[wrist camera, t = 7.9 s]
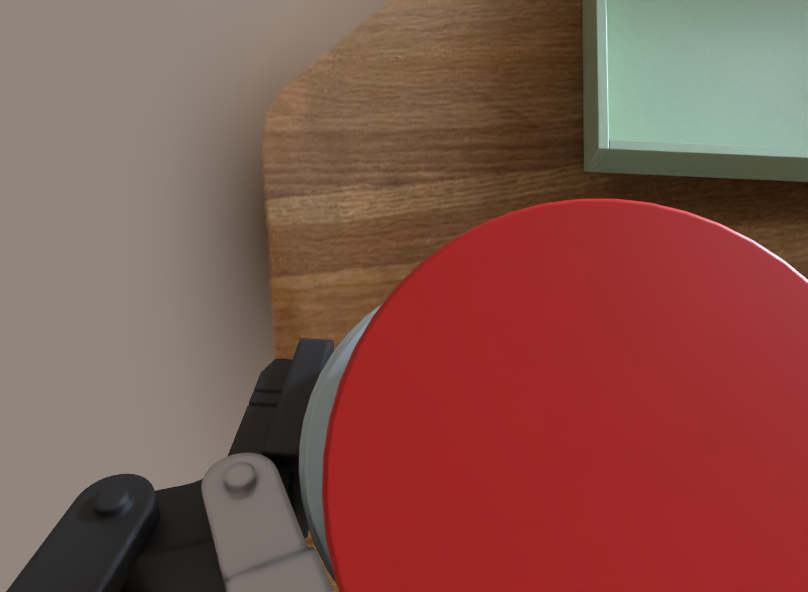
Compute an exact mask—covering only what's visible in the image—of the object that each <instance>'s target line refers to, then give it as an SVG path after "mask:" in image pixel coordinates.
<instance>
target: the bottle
mask: <svg viewBox="0 0 808 592" xmlns="http://www.w3.org/2000/svg"><path fill="white" fill-rule="evenodd" d="M382 304H383V303H382ZM382 304H381V305H382ZM381 305H380V306H381ZM380 306H378V307H377V308H376V309H374V310H373V311H372V312H370V313H369V314H368V315H366V316H365V317H364V318H363V319H362V320H361V321H360V322H359V323H358V324H357V325H356V326H355V327H354V328H353V329H352V330H351V331H350V332H349V333H348V334H347V335H346V336H345V338H344V339H343V340H342V341H341V343H340V344H339V345H338V347H337V348H336V349H335V350H334V352H333V353H332V355H331V356H330V358H329V360H328V361H327V363H326V365H325V366H324V368H323V370H322V371H321V373H320V375H319V378H318V380H317V382H316V385H315V387H314V389H313V391H312V394H311V396H310V400H309V403H308V406H307V410H306V413H305V416H304V420H303V426H302V432H301V438H300V445H299V480H300V491H301V499H302V503H303V508H304V512H305V517H306V521H307V525H308V527H309V530H310V533H311V536H312V538H313V541H314V544H315V547H316V549H317V551H318V553H319V555H320V557H321V559H322V561H323V563H324V565H325V567H326V569H327V570H328V572H329V574H330V575H331V577H332V578H333V579H334V581H335V577H334V572H333V568H332V564H331V559H330V555H329V550H328V546H327V542H326V535H325V525H324V515H323V504H322V472H323V453H324V447H325V440H326V434H327V427H328V421H329V416H330V413H331V409H332V406H333V402H334V399H335V395H336V392H337V388H338V385H339V381H340V379H341V377H342V374H343V372H344V370H345V368H346V365H347V363H348V361H349V358H350V356H351V354H352V351H353V349H354V347H355V345H356V344H357V342H358V340H359V338H360V337H361V335H362V333H363V332H364V330H365V328H366V327H367V325H368V323H369V322H370V320H371V318H372V317H373V315H374V314H375V313H376V311H377V310H378V309H379V308H380ZM335 582H336V581H335Z"/></svg>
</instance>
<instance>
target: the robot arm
mask: <svg viewBox="0 0 808 592" xmlns="http://www.w3.org/2000/svg"><path fill="white" fill-rule="evenodd" d="M333 352H334V344H333V340H323V339H306V338H301V339H300V340H299V343H298V346H297V348H296V351H295V354H294V357H293V360H289V359H275V360H274V361H273V362H272V363H271V364H270V365H268V366H267V367H266V368H265V369H264V370H263V371H262V372H261V374H260V376H259V379H258V381H257V384H256V386H255V389H254V392H253V394H252V396H251V399H250V401H249V406H248V407H247V409H246V412H245V414H244V416H243V419H242V421H241V424H240V427H239V429H238V431H237V434H236V437H235V439H234V442H233V444H232V447H231V449H230V452H229V454H228V456H227V457H225V458H223V459H221V460H220V461H218V462H217V463H215V464H214V465H213V466H212V467H211V468H210V469H209V470H208V471H207V472H206V474H205V476H204V478H203V479H201V480H199V481H196V482H194V483H191V484H187V485H182V486H178V487H172V488H167V489H162V490H157V491H154V488H153V486H152V484H151V483H150V482H149V481H148V480H147V479H145V478H144V477H141V476H139V475H134V474H119V475H113V476H110V477H107V478H104V479H102V480H99V481H98V482H96V483H94V484H92V485H91V486H89V487H88V488H86V489H85V490H84V491H83V492H82V493H81V494H80V495H79V496H78V497H77V498H76V500H75V501H74V502H73V504H72V505H71V506H70V508H69V509H68V510H67V512H66V513H65V514H64V516H63V517H62V518H61V520H60V521H59V522H58V524H57V525H56V526H55V528H54V529H53V530H52V531H51V533H50V534H49V535H48V537H47V538H46V540H45V541H44V542H43V544H42V545H41V546H40V548H39V549H38V550H37V551H36V553H35V554H34V556H33V557H32V558H31V559H30V561H29V562H28V563H27V565H26V566H25V567H24V569H23V570H22V571H21V573H20V574H19V575H18V577H17V578H16V580H15V581H14V582H13V583H12V585H11V586H10V587H9V589H8V590H7V591H6V592H333V590H332V587H331V585H330V583H329V580H328V578H327V575H326V573H325V570H324V568H323V565H322V563H321V560H320V558H319V556H318V554H317V552H316V550H315V548H314V547H308V546H307V544H306V541H305V539H304V538H307V536H308V531H309V527H308V525H307V521H306V517H305V512H304V508H303V503H302V499H301V491H300V480H299V445H300V438H301V432H302V426H303V420H304V416H305V413H306V410H307V406H308V403H309V400H310V396H311V394H312V391H313V389H314V387H315V385H316V382H317V380H318V378H319V375H320V373H321V371H322V370H323V368H324V366H325V365H326V363H327V361H328V360H329V358H330V356H331V355H332V353H333Z"/></svg>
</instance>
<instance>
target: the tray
mask: <svg viewBox="0 0 808 592" xmlns="http://www.w3.org/2000/svg"><path fill="white" fill-rule="evenodd" d="M583 119H584V172H601V173H623V174H645V175H666V176H688V177H710V178H731V179H753V180H775V181H796V182H808V0H583Z"/></svg>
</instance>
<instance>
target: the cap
mask: <svg viewBox="0 0 808 592" xmlns="http://www.w3.org/2000/svg"><path fill="white" fill-rule="evenodd" d="M322 504H323V515H324V525H325V535H326V542H327V546H328V550H329V555H330V559H331V564H332V568H333V572H334V577H335V581H336V584H337V586H338V589H339V592H808V279H806V278H805V277H804V276H803V275H801V274H800V273H799V272H798V271H797V270H795V269H794V268H793V267H792V266H791V265H789V264H788V263H787V262H786V261H784V260H783V259H781V258H780V257H778V256H777V255H775V254H774V253H772V252H771V251H769V250H767V249H766V248H764V247H763V246H761V245H760V244H758V243H757V242H755V241H754V240H752V239H750V238H748V237H746V236H744V235H742V234H740V233H738V232H736V231H734V230H732V229H730V228H728V227H726V226H724V225H722V224H720V223H717V222H714V221H712V220H709V219H706V218H703V217H701V216H698V215H695V214H692V213H690V212H687V211H683V210H679V209H675V208H671V207H666V206H662V205H658V204H654V203H649V202H640V201H631V200H622V199H574V200H567V201H559V202H551V203H544V204H540V205H536V206H532V207H529V208H525V209H521V210H517V211H513V212H510V213H507V214H505V215H502V216H500V217H498V218H495V219H493V220H490V221H488V222H485V223H483V224H480V225H478V226H476V227H474V228H473V229H471V230H469V231H467V232H465V233H464V234H462V235H460V236H458V237H457V238H455V239H453V240H451V241H449V242H448V243H447V244H445V245H444V246H443V247H441V248H440V249H439V250H437V251H436V252H434V253H433V254H432V255H430V256H429V257H428V258H426V259H425V260H424V261H422V262H421V263H420V264H419V265H418V266H417V267H416V268H415V269H414V270H413V271H412V272H411V273H410V274H409V275H408V276H407V277H406V278H405V279H404V280H403V281H401V282H400V283H399V284H398V285H397V286H396V287H395V289H394V290H393V291H392V292H391V294H390V295H389V296H388V297H387V299H386V300H385V301H384V302H383V304H382V305H381V306H380V308H379V309H378V310H377V311H376V313H375V314H374V315H373V317H372V318H371V320H370V322H369V323H368V325H367V327H366V328H365V330H364V332H363V333H362V335H361V337H360V338H359V340H358V342H357V344H356V345H355V347H354V349H353V351H352V354H351V356H350V358H349V361H348V363H347V365H346V368H345V370H344V372H343V374H342V377H341V379H340V381H339V385H338V388H337V392H336V395H335V399H334V402H333V406H332V409H331V413H330V416H329V421H328V427H327V434H326V440H325V447H324V453H323V472H322Z"/></svg>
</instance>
